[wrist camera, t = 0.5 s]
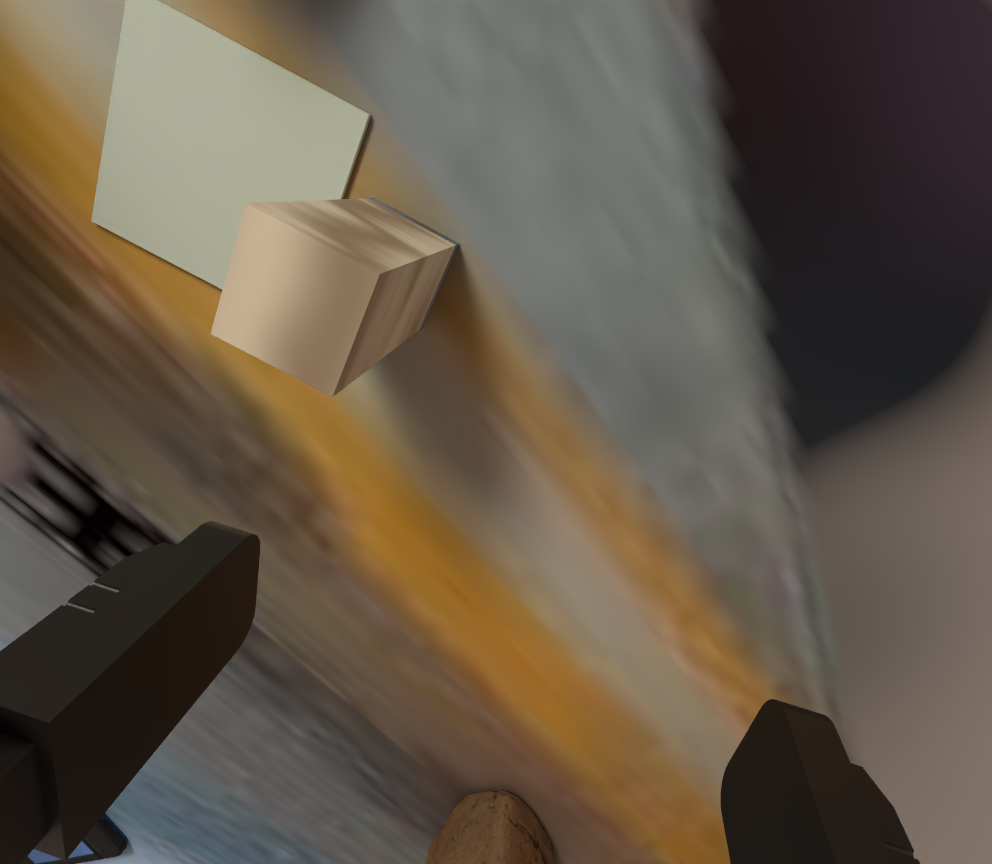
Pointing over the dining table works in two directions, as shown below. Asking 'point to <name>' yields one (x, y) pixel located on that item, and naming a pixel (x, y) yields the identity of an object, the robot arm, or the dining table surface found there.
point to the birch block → (329, 286)
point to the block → (491, 833)
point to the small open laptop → (88, 846)
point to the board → (211, 139)
